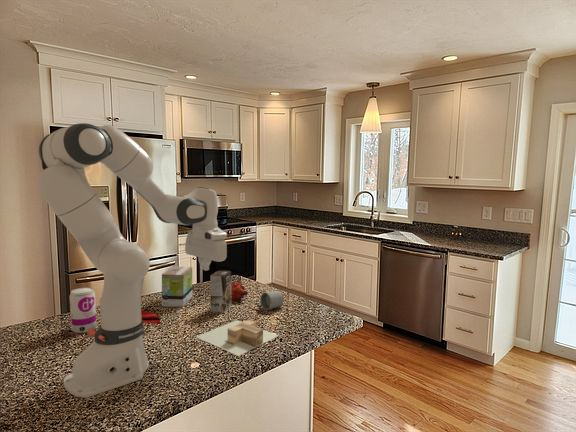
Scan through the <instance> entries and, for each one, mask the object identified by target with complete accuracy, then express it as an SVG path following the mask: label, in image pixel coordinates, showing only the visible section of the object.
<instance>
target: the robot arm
mask: <svg viewBox="0 0 576 432" xmlns="http://www.w3.org/2000/svg"><path fill="white" fill-rule="evenodd" d="M38 156H39V159H40V161H41V166H42V170H43V171H41V173H40V174H39V176H38V178H37V186H38V188H39V190H40V192H41V194H42V196H43V198H44V200H45V201H46V203H47V204H48V206H49V207H50V208H51V210H52V211H53V213H54V214H55V215H56V216H57V219H59V220H60V221H61V222H62V224H63V225H64V227H65V228H66V229H67V230H68V231H69V233H70V234H71V235H72V236H73V238H74V239H75V241H76V242H77V244H78V245H79V246H80V248H81V249H82V251H83V252H84V254H85V255H86V256H87V258H88V259H89V261H90V263H91V264H93V266H94V267H95V268H96V270H97V271H99V272H100V273H102V274H103V287H102V292H101V296H100V297H99V317H100V325H99V327H98V329H97V330H96V329H95V328H94V329H93V328H90V329H89V331H87V332H86V333H87V335H88V336H90V337H92V338H93V337H94V340H93V341H92V342H91V343H90V344H89V345H88V346H87V347H86V348H85V349H84V350H83V351H82V352H81V353H80V354H79V355H77V357H76V358H75V359H74V362H73V365H72V373H69V374H67V375H66V376H64V378H63V387H64V389H65V390H66V392H68V393H70V394H71V395H73V396H74V397H78V398H89V397H93V396H96V395H98V394H102V393H104V392H107V391H111V390H114V389H116V388H119V387H122V386H125V385H128V384H131V383H134V382H138V381H140V380H141V379H143V378H144V374H145V372H146V370H148V369H149V367H150V362H149V360H148V357H147V354H146V349H145V343H144V338H143V337H144V335H145V334H144V333H145V332H144V329H145V328H144V323H143V320H144V319H143V320H142V319H141V309H142V290H143V287H144V286H143V285H144V282H145V277H146V276H147V274H148V272H149V270H150V267H151V266H150V265H151V264H150V263H151V262H150V258H149V256H148V254H147V253H146V252H145V251H144V249H143V248H142V247H141V246H140V245H138V244H135V243H133V242H131V241H128V240H127V239H126V238H125V237H124V236H123V234H122V233H121V231H120V229H119V227H118V226H117V224H116V222H115V219H114V216H113V215H112V213H111V212H110V210H109V209H108V207H107V206H106V205H105V203H104V202H103V200H102V199H101V197H100V196H99V195H98V193H97V192H96V191H95V190H94V188H93V187H92V186H91V184H90V183H89V181H88V179H87V177H86V173H85V171H86V170H85V168H87V167H89V166H93V165H95V164H98V163H101V164H102V165H104V166H106V168H108V169H109V170H110V171H111V172H112V173H113V174H114V175H115V176H117V177H118V178H119V179H121V180H122V181H123V182H124V183H127V185H129V186H130V187H131V188H132V189H134V191H135V192H136V193H137V194H139V195H140V197H142V198H143V200H145V201H146V202H147V203H148V204H149V206H151V208H152V210H153V212H154V213H155V215H156V217H157V219H158V220H159V221H161V222H162V223H164V224H175V225H180V226H181V225H183V226H190V225H192V229H189V231H188V232H187V236H186V238H185V243H184V245H185V247H184V251H185V252H184V253H185V254H187V255H190V256H193V257H197V260H198V263H199V268H200V270H202V271H205V272H206V271H209V270H210V265H211V263H212V261H214V262H217V263H218V262H219V263H220V262H223V261H226V259H227V257H228V255H227V254H228V251H227V250H228V249H227V248H228V247H227V245H228V243H227V241H226V239H227V238H228V234H227V232H225V231H224V230H222V229H221V228H220V227H218V226H219V225H218V219H217V218H218V217H217V216H218V213H219V201H218V196H217V195H218V194H217V192H216V190H214V189H213V188H209V187H204V186H197V187H195V188H194V189H193V190H192V191H190V192H189V193H187V194H185V195H183V196H178V195H177V196H176V195H172V194H168V193H166V192H164V191H163V189H161V188H160V186H159V185H158V184H157V183H156V182H155V181H154V180H153V179H152V178H151V175H152V174H153V171H154V163H153V159H152V158H151V157H150V155H149V154H148V153H147V152H146V150H145V149H143V147H141V146H140V145H139V143H137V142H136V141H135V140H134V139H133V138H131V137H130V136H129V135H127V134H126V133H125V132H123V131H122V130H120V129H119V128H118V127H116V126H114V125H111V124H106V125H101V126H96V125H94V124H90V123H84V122H83V123H76V124H72V125H70V126H66V127H61V128H59V129H57V130H55V131H53V132H51V133H50V134H47V135H46V136H45V137H44V138H43V139H42V140H41V141H40V143H39V146H38Z"/></svg>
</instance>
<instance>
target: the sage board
mask: <svg viewBox="0 0 576 432" xmlns="http://www.w3.org/2000/svg"><path fill="white" fill-rule="evenodd" d="M243 322H244V321H239V320H234V321H232V322H229V323H226V324H225V325H221V326H218V327H217V328H213V329H212V330H210V331H206V332H204V333H202V334H200V335H196V336H195V338H197V339H199V340H201V341H204V342H206V343H208V344H210V345H213V346H215V347H218V348H219V349H222V350H224V351H226V352H228V353H230V354H233V355H235V356H238V357H240V356H241V355H243V354H246V353H247V352H250V351H251V350H253V349H256V348H257V347H259V346H261V345H264V344H265V343H267V342H269V341H271V340H273V339H276V338H277V337H279V336H280V335H278V334H276V333H273V332H270V331H267V330H266V329H262V330H263V343H261V344H259V345H257V346H255V345H253V344H250V343H248V342H245V341H243V340H242V341H240V342H238V343H236V344H233V343H231V342H228V328H231V327H233V326H235V325H238V324H240V323H243Z"/></svg>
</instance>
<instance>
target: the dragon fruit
mask: <svg viewBox="0 0 576 432" xmlns="http://www.w3.org/2000/svg"><path fill="white" fill-rule="evenodd" d="M247 295H248V291H247V290H246V288H245V286H243V283H239V281H233V282H231V299H233V300H234V301H236V302H237V301H238V302H239V301H240V300H239V299H244V298H245V296H247Z"/></svg>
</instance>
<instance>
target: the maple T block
mask: <svg viewBox="0 0 576 432" xmlns="http://www.w3.org/2000/svg"><path fill="white" fill-rule="evenodd" d="M242 322H243V323H240V324H238V325H235V326H233V327H231V328H228V342H231V343H233V344H236V343H238V342H240V341H242V340H243V341H245V342H248V343H250V344H253V345H255V346H257V345H259V344H261V343H263V330H264V329H262V328H259V327H257V326H258V325H257V324H258V321H255V320H252V319H248V320H245V321H242ZM263 344H264V343H263ZM261 345H262V344H261ZM259 346H260V345H259ZM257 347H258V346H257Z"/></svg>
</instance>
